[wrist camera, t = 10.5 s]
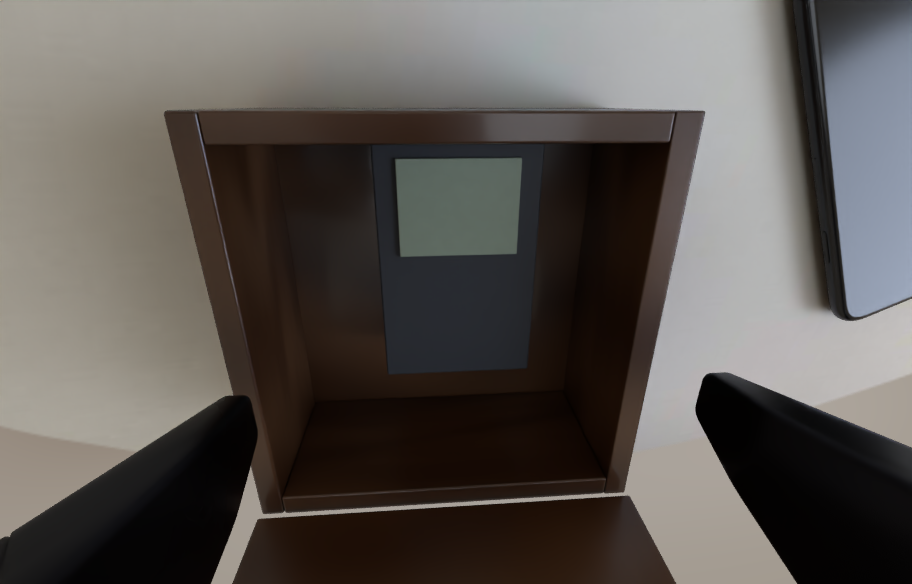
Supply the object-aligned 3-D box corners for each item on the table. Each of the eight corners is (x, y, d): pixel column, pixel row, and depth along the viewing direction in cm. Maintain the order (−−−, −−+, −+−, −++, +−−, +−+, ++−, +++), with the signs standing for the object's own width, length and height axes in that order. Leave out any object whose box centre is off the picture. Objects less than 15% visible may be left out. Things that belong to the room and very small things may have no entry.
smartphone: (779, -30, 16) (825, 322, 22) (800, -38, 15) (841, 331, 21) (1009, -148, 15) (988, 254, 21) (1044, -163, 14) (1012, 260, 20)
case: (253, 107, 16) (160, 110, 10) (609, 108, 17) (706, 110, 11) (304, 405, 22) (262, 515, 16) (572, 392, 22) (624, 492, 17)
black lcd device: (512, 332, 20) (528, 371, 17) (391, 336, 19) (387, 377, 17) (524, 135, 16) (546, 142, 14) (378, 136, 16) (369, 143, 13)
